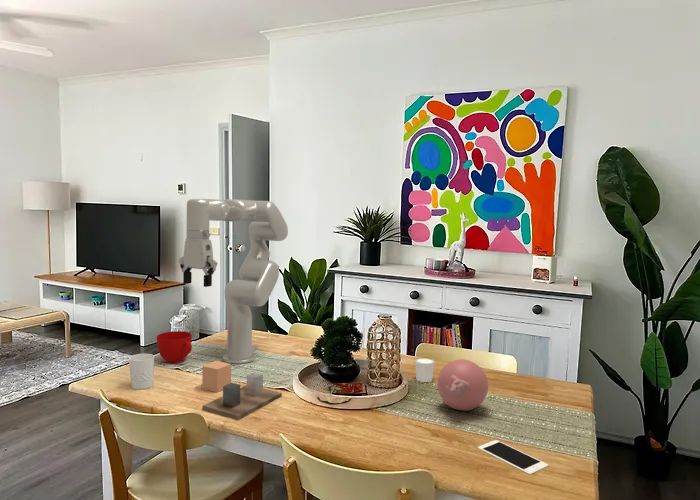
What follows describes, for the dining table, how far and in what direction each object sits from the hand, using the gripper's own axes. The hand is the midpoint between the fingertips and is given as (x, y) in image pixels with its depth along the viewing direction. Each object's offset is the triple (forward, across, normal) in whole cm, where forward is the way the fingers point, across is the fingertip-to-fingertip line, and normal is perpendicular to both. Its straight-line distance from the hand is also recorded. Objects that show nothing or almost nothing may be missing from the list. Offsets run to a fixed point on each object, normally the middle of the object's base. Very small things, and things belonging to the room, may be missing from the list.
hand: (197, 284), depth 179 cm
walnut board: (+34, -28, +7) cm, 44 cm away
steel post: (+34, -27, +1) cm, 43 cm away
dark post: (+34, -28, +12) cm, 45 cm away
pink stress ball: (+33, -87, -24) cm, 96 cm away
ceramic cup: (+33, +21, -10) cm, 41 cm away
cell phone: (+34, -107, -4) cm, 113 cm away
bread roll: (+34, -49, -12) cm, 61 cm away
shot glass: (+33, -67, -45) cm, 87 cm away
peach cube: (+34, -11, +2) cm, 35 cm away
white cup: (+34, +10, +14) cm, 38 cm away
